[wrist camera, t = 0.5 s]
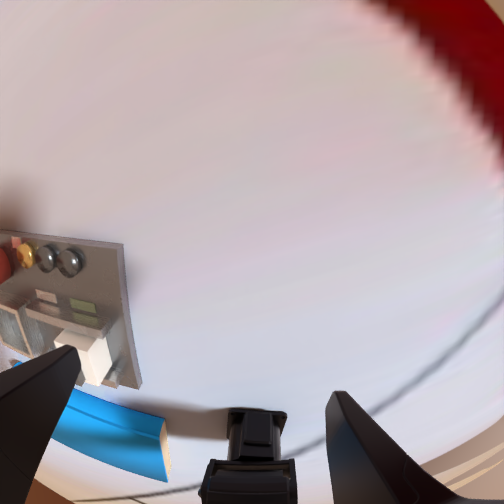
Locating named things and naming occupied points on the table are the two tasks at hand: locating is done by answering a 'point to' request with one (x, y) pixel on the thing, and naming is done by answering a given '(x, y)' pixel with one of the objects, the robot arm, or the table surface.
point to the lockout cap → (4, 267)
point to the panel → (67, 298)
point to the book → (115, 435)
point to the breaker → (88, 356)
